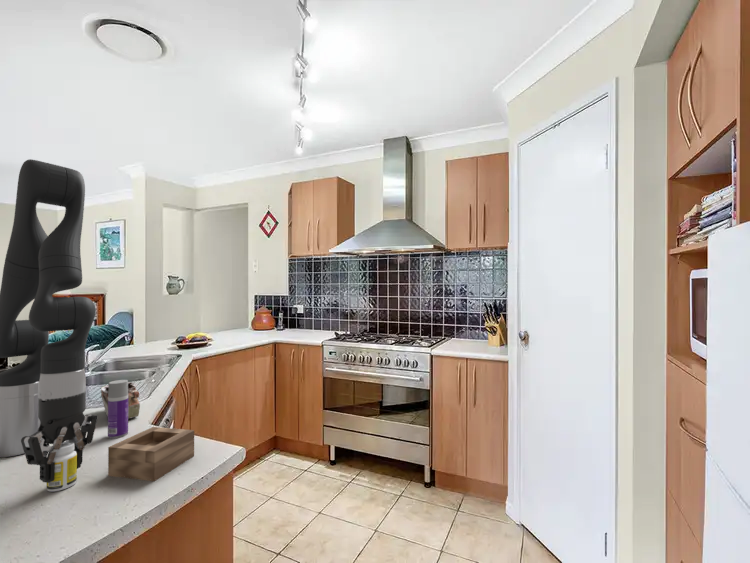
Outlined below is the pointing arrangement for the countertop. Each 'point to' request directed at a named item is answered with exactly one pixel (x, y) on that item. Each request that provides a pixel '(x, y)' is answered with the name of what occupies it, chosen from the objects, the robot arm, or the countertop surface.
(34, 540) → the countertop surface
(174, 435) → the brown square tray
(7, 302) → the robot arm
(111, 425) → the container
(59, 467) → the supplement bottle
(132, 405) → the decorative box
